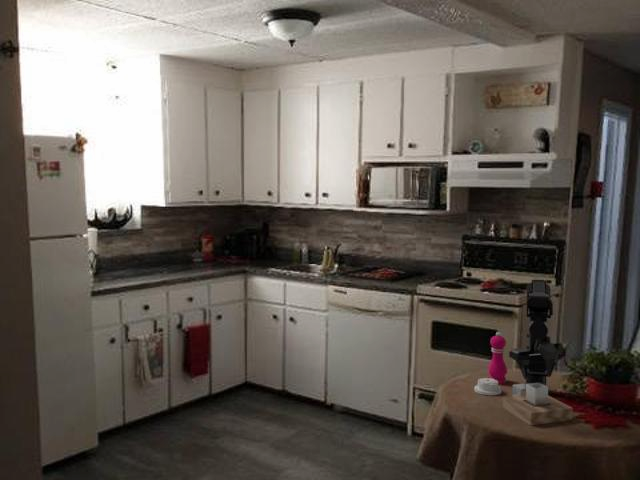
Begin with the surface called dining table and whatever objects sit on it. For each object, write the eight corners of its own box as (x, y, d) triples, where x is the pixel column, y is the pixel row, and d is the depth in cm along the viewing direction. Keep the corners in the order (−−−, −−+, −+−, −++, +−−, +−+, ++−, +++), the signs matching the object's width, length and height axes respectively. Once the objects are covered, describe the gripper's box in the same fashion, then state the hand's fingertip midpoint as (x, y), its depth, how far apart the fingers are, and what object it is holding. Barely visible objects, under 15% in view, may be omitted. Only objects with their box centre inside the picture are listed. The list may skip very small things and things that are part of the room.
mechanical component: (497, 397, 223) (504, 390, 231) (497, 386, 222) (505, 379, 231) (470, 393, 228) (479, 386, 236) (470, 381, 228) (479, 375, 236)
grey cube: (524, 396, 223) (524, 383, 223) (532, 401, 218) (532, 387, 218) (512, 398, 222) (512, 384, 221) (520, 402, 217) (520, 389, 217)
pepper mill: (507, 384, 237) (508, 334, 235) (488, 383, 238) (489, 333, 237) (506, 379, 244) (506, 330, 242) (487, 378, 245) (488, 329, 244)
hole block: (542, 403, 215) (542, 392, 215) (572, 419, 200) (572, 407, 200) (502, 408, 211) (502, 397, 211) (530, 425, 196) (530, 413, 195)
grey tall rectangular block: (538, 410, 209) (538, 382, 208) (547, 415, 204) (548, 386, 203) (525, 412, 207) (526, 383, 207) (534, 417, 203) (535, 388, 202)
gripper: (528, 339, 193) (527, 387, 194) (577, 335, 198) (576, 382, 199) (508, 332, 204) (507, 377, 205) (555, 328, 209) (554, 372, 210)
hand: (537, 377), depth 205 cm, fingers open, 9 cm apart
